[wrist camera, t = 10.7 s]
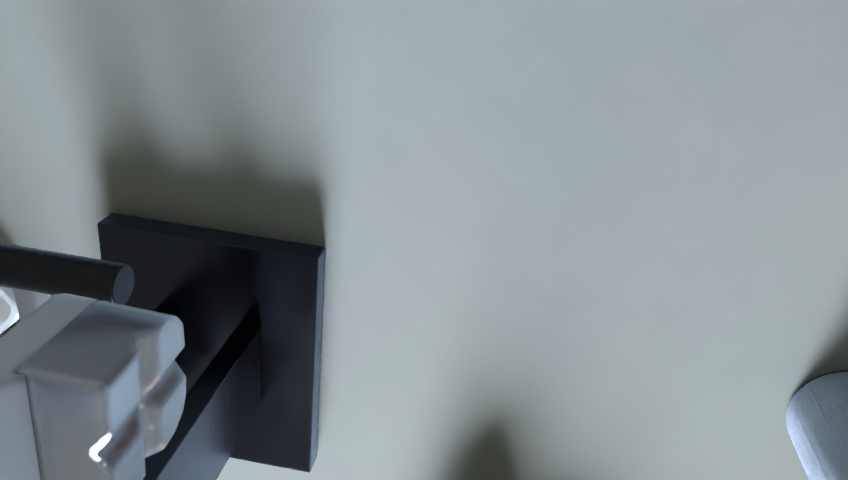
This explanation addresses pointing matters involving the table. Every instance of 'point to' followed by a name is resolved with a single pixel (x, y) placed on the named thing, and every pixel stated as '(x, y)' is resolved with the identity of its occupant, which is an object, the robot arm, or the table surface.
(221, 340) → the black lever stand
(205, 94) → the table surface
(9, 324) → the phone case
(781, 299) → the table surface
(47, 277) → the tap lever
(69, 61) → the table surface
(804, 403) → the white hollow cylinder
